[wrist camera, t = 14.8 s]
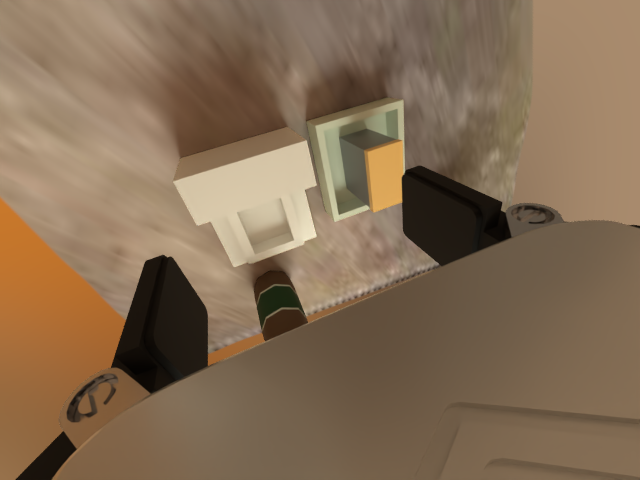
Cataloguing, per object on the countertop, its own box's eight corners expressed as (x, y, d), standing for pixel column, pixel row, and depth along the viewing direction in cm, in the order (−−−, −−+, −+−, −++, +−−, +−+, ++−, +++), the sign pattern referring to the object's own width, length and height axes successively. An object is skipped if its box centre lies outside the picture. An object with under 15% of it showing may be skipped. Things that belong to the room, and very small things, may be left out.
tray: (306, 121, 42) (315, 126, 38) (387, 97, 44) (403, 99, 40) (325, 211, 51) (334, 222, 47) (391, 187, 53) (405, 196, 50)
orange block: (338, 136, 44) (367, 151, 36) (367, 127, 45) (402, 140, 36) (346, 189, 49) (373, 212, 41) (372, 180, 50) (404, 201, 42)
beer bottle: (289, 265, 54) (334, 371, 35) (293, 293, 59) (335, 403, 39) (249, 274, 52) (274, 393, 33) (256, 303, 57) (281, 424, 37)
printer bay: (180, 158, 39) (173, 181, 31) (287, 126, 41) (306, 140, 33) (233, 264, 50) (238, 301, 42) (314, 234, 53) (334, 263, 45)
